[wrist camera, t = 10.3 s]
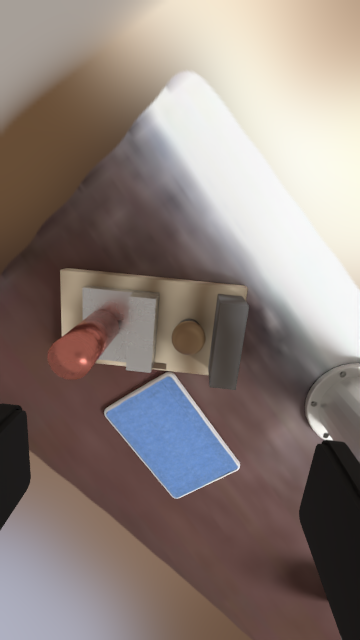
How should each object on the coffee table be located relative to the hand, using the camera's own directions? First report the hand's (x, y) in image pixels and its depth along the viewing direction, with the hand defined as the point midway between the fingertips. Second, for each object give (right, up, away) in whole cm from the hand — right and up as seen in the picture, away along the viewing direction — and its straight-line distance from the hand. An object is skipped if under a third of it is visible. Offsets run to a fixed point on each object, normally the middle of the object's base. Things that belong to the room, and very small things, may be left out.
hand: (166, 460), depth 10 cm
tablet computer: (-1, -13, +36) cm, 39 cm away
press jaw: (-7, +4, +28) cm, 30 cm away
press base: (-3, +4, +31) cm, 31 cm away
